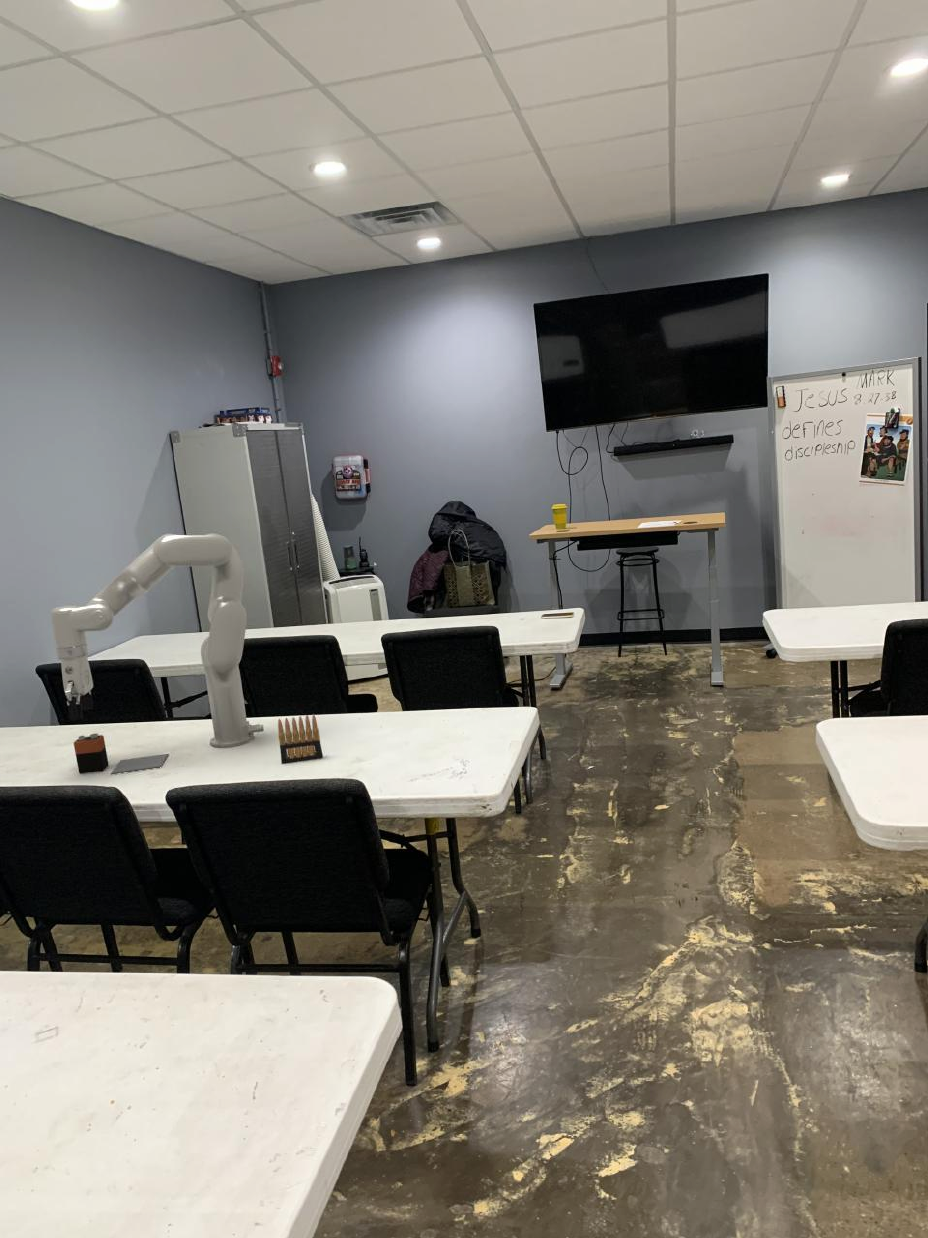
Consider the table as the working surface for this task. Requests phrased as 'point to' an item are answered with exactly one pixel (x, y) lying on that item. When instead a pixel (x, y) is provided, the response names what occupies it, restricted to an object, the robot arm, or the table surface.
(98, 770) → the battery
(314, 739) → the ammunition clip
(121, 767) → the mat
